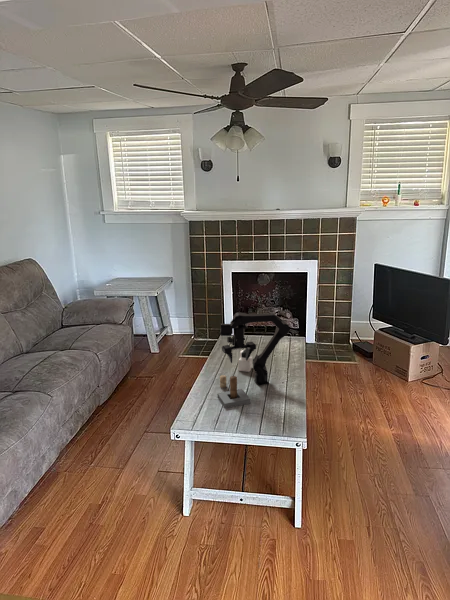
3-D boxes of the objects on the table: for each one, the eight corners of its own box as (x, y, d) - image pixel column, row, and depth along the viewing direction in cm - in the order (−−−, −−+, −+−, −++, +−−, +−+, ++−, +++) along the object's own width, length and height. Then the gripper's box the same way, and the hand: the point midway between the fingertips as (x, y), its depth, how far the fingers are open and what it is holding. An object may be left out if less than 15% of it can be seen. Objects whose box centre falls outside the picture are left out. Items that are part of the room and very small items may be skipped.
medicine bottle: (252, 367, 261) (252, 349, 258) (249, 372, 255) (249, 353, 251) (241, 366, 263) (240, 348, 260) (238, 370, 256) (238, 352, 253)
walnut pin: (233, 397, 224) (233, 375, 221) (238, 400, 221) (238, 377, 218) (228, 400, 222) (228, 377, 218) (233, 402, 219) (233, 379, 216)
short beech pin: (225, 384, 239) (225, 374, 238) (227, 387, 236) (227, 377, 234) (219, 385, 238) (218, 375, 237) (221, 388, 235) (221, 378, 233)
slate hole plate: (242, 392, 229) (241, 388, 229) (250, 403, 218) (250, 398, 218) (217, 397, 225) (217, 393, 224) (224, 408, 214) (224, 403, 213)
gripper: (248, 329, 244) (248, 354, 248) (218, 333, 238) (218, 358, 242) (256, 335, 234) (256, 361, 238) (225, 339, 228) (225, 366, 232)
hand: (239, 361), depth 238 cm, fingers open, 9 cm apart
